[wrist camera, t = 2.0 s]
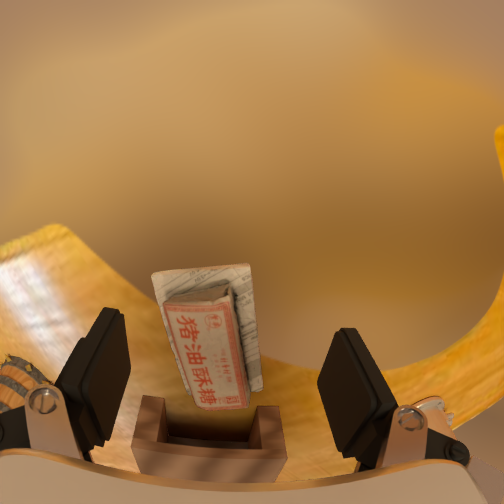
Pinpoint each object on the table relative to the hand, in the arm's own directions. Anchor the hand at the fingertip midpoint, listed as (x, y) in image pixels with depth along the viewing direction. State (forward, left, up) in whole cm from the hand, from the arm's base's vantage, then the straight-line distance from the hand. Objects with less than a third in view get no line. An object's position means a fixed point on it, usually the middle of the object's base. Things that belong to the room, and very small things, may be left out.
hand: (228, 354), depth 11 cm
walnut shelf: (0, +32, -18) cm, 37 cm away
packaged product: (0, +14, -19) cm, 23 cm away
